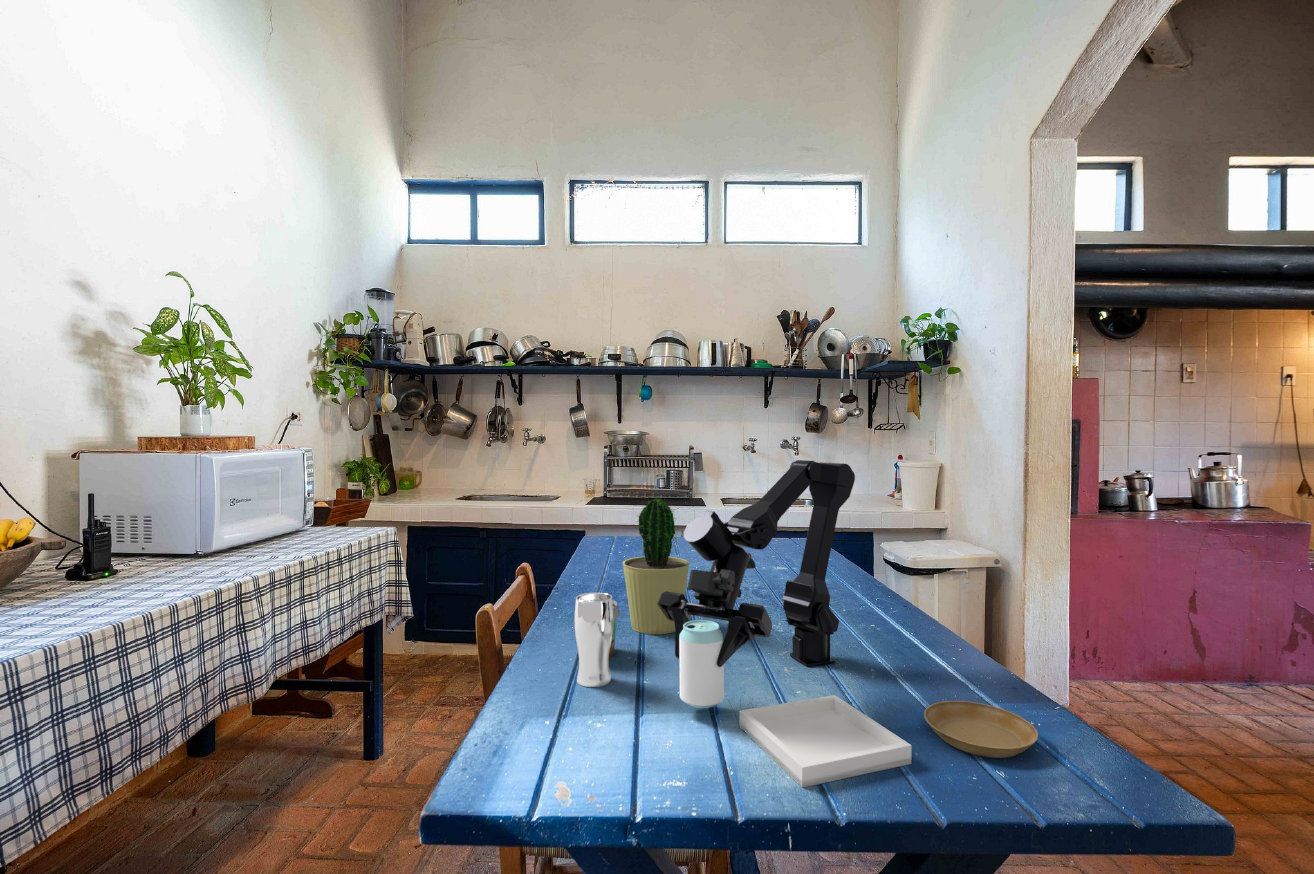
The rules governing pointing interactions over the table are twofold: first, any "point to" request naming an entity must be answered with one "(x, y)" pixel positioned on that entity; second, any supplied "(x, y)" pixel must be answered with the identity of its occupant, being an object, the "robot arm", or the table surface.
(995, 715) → the plant saucer
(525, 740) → the table surface
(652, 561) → the potted cactus
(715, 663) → the can
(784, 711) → the tray
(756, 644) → the table surface
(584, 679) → the beer glass
